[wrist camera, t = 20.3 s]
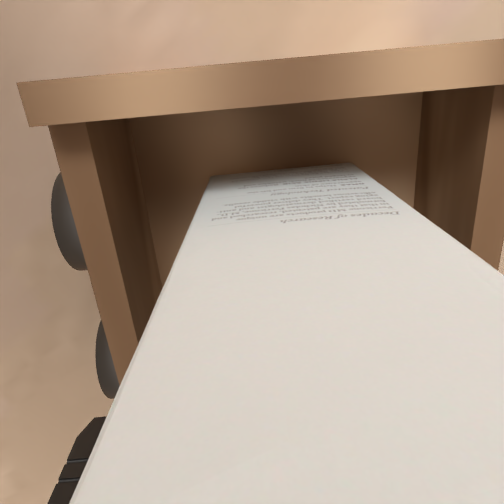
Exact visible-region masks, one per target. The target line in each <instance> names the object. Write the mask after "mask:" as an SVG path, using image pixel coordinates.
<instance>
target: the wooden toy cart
mask: <svg viewBox="0 0 504 504" xmlns="http://www.w3.org/2000/svg"><path fill="white" fill-rule="evenodd" d="M17 86H18V89H19V93H20V96H21V100H22V103H23V106H24V110H25V113H26V117H27V120H28V123H29V127H34V126H46V125H48V127H49V131H50V135H51V138H52V142H53V146H54V149H55V153H56V156H57V160H58V164H59V167H60V171H61V172H60V174H59V175H58V176H57V178H56V180H55V183H54V187H53V191H52V200H51V212H52V222H53V228H54V233H55V236H56V240H57V243H58V246H59V248H60V251H61V253H62V255H63V256H64V258H65V260H66V261H67V262H68V263H69V265H70V266H72V267H73V268H74V269H76V270H88V273H89V276H90V280H91V284H92V287H93V291H94V294H95V298H96V302H97V305H98V309H99V313H100V316H101V322H100V325H99V328H98V333H97V339H96V368H97V375H98V379H99V383H100V386H101V389H102V391H103V393H104V394H105V395H106V396H107V397H108V398H110V399H113V398H115V396H116V394H117V391H118V389H119V387H120V384H121V382H122V380H123V378H124V376H125V373H126V371H127V369H128V367H129V364H130V362H131V360H132V358H133V355H134V353H135V351H136V349H137V346H138V344H139V342H140V339H141V337H142V335H143V333H144V330H145V328H146V326H147V323H148V321H149V319H150V316H151V314H152V311H153V309H154V307H155V304H156V302H157V300H158V297H159V295H160V293H161V291H162V289H163V286H164V284H165V282H166V280H167V278H168V275H169V273H170V271H171V268H172V266H173V263H174V261H175V259H176V256H177V254H178V252H179V249H180V247H181V245H182V243H183V240H184V238H185V236H186V233H187V231H188V229H189V226H190V224H191V222H192V220H193V217H194V215H195V213H196V210H197V208H198V206H199V204H200V201H201V199H202V196H203V194H204V192H205V189H206V187H207V185H208V182H209V178H210V177H211V176H215V175H225V174H237V173H248V172H258V171H268V170H279V169H289V168H299V167H309V166H319V165H330V164H339V163H352V164H354V165H355V166H356V167H358V168H359V169H361V170H362V171H363V172H365V173H366V174H367V175H369V176H370V177H371V178H373V179H374V180H375V181H377V182H378V183H379V184H381V185H382V186H384V187H385V188H387V189H388V190H389V191H391V192H392V193H393V194H395V195H396V196H397V197H398V198H400V199H401V200H403V201H404V202H405V203H407V204H408V205H409V206H411V207H412V208H413V209H415V210H416V211H417V212H419V213H420V214H421V215H423V216H424V217H425V218H427V219H428V220H430V221H431V222H432V223H434V224H435V225H436V226H438V227H439V228H441V229H442V230H443V231H445V232H446V233H447V234H449V235H450V236H452V237H453V238H454V239H456V240H457V241H458V242H460V243H461V244H462V245H464V246H465V247H466V248H468V249H469V250H471V251H472V252H473V253H475V254H476V255H477V256H479V257H480V258H481V259H483V260H484V261H485V262H487V263H488V264H489V265H491V266H492V267H493V268H495V269H496V270H497V271H498V267H499V262H500V256H501V251H502V246H503V240H504V39H496V40H485V41H473V42H462V43H451V44H440V45H429V46H418V47H407V48H396V49H385V50H374V51H363V52H351V53H340V54H329V55H318V56H307V57H296V58H285V59H274V60H263V61H252V62H241V63H229V64H218V65H207V66H196V67H185V68H174V69H163V70H152V71H141V72H130V73H119V74H107V75H96V76H85V77H74V78H63V79H52V80H41V81H30V82H19V83H17Z"/></svg>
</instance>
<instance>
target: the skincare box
mask: <svg viewBox="0 0 504 504" xmlns="http://www.w3.org/2000/svg"><path fill="white" fill-rule="evenodd" d="M69 504H504V275H503V274H501V273H500V272H499V271H497V270H496V269H495V268H493V267H492V266H491V265H489V264H488V263H487V262H485V261H484V260H483V259H481V258H480V257H479V256H477V255H476V254H475V253H473V252H472V251H471V250H469V249H468V248H466V247H465V246H464V245H462V244H461V243H460V242H458V241H457V240H456V239H454V238H453V237H452V236H450V235H449V234H447V233H446V232H445V231H443V230H442V229H441V228H439V227H438V226H436V225H435V224H434V223H432V222H431V221H430V220H428V219H427V218H425V217H424V216H423V215H421V214H420V213H419V212H417V211H416V210H415V209H413V208H412V207H411V206H409V205H408V204H407V203H405V202H404V201H403V200H401V199H400V198H398V197H397V196H396V195H395V194H393V193H392V192H391V191H389V190H388V189H387V188H385V187H384V186H382V185H381V184H379V183H378V182H377V181H375V180H374V179H373V178H371V177H370V176H369V175H367V174H366V173H365V172H363V171H362V170H361V169H359V168H358V167H356V166H355V165H354V164H352V163H339V164H330V165H319V166H309V167H299V168H289V169H279V170H268V171H258V172H248V173H237V174H225V175H215V176H211V177H210V178H209V182H208V185H207V187H206V189H205V192H204V194H203V196H202V199H201V201H200V204H199V206H198V208H197V210H196V213H195V215H194V217H193V220H192V222H191V224H190V226H189V229H188V231H187V233H186V236H185V238H184V240H183V243H182V245H181V247H180V249H179V252H178V254H177V256H176V259H175V261H174V263H173V266H172V268H171V271H170V273H169V275H168V278H167V280H166V282H165V284H164V286H163V289H162V291H161V293H160V295H159V297H158V300H157V302H156V304H155V307H154V309H153V311H152V314H151V316H150V319H149V321H148V323H147V326H146V328H145V330H144V333H143V335H142V337H141V339H140V342H139V344H138V346H137V349H136V351H135V353H134V355H133V358H132V360H131V362H130V364H129V367H128V369H127V371H126V373H125V376H124V378H123V380H122V382H121V384H120V387H119V389H118V391H117V394H116V396H115V398H114V401H113V403H112V406H111V408H110V410H109V413H108V415H107V417H106V420H105V422H104V424H103V427H102V429H101V431H100V434H99V436H98V438H97V441H96V443H95V445H94V448H93V450H92V452H91V455H90V457H89V459H88V462H87V464H86V466H85V468H84V471H83V473H82V475H81V478H80V480H79V482H78V484H77V487H76V489H75V491H74V494H73V496H72V498H71V500H70V503H69Z"/></svg>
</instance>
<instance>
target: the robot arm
mask: <svg viewBox="0 0 504 504" xmlns="http://www.w3.org/2000/svg"><path fill="white" fill-rule="evenodd" d="M105 420H106V417H96V418H94V419H93V420H92V421H91V422H90V423H89V424H88V425H87V427H86V428H85V429H84V430H83V431H82V432H81V433H80V434H79V436H78V437H77V438H76V441H75V443H74V445H73V447H72V450H71V452H70V454H69V456H68V459H67V464H65V465H64V468H63V470H62V472H61V474H60V477H59V482H58V484H56V486H55V488H54V490H53V493H52V495H51V497H50V499H49V502H48V504H69V503H70V500H71V498H72V496H73V494H74V491H75V489H76V487H77V484H78V482H79V480H80V478H81V475H82V473H83V471H84V468H85V466H86V464H87V462H88V459H89V457H90V455H91V452H92V450H93V448H94V445H95V443H96V441H97V438H98V436H99V434H100V431H101V429H102V427H103V424H104V422H105Z"/></svg>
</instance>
